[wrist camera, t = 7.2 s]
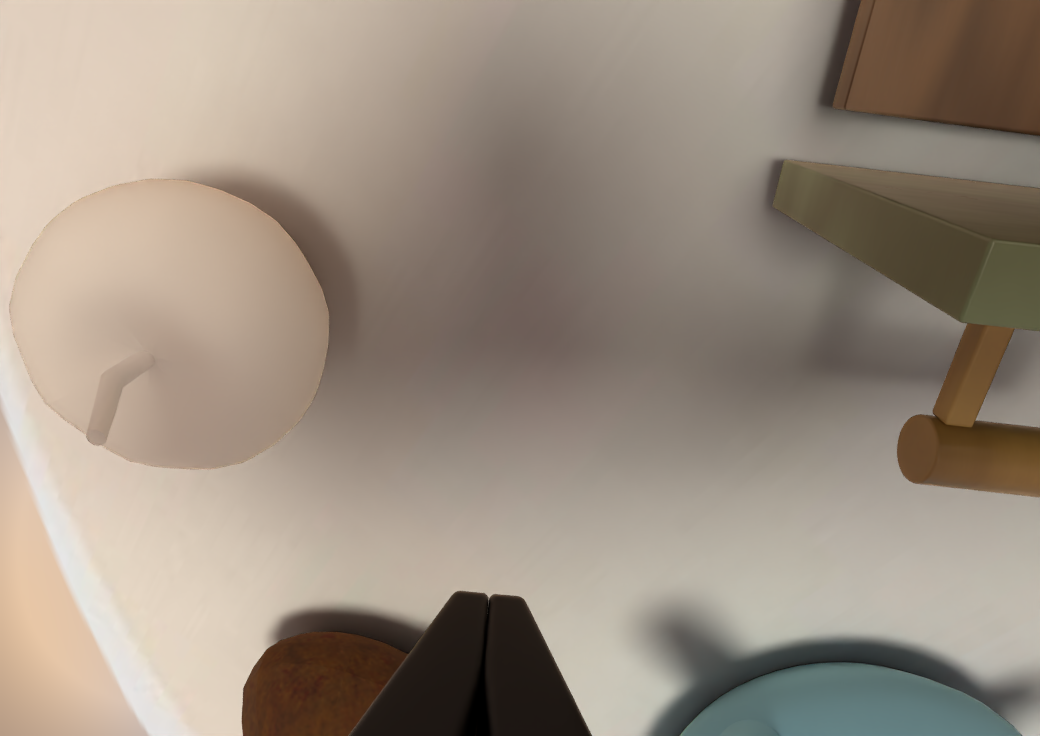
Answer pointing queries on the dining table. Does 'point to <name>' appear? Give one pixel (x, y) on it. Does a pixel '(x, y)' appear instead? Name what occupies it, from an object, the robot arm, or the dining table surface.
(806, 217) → the drawer
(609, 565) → the dining table surface
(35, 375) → the plain white apple
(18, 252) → the dining table surface
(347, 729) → the potato
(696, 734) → the teapot
